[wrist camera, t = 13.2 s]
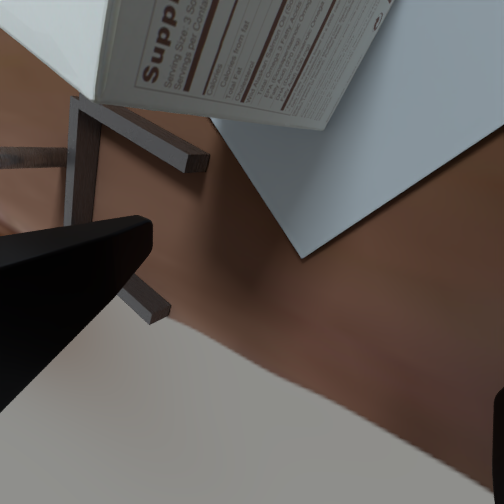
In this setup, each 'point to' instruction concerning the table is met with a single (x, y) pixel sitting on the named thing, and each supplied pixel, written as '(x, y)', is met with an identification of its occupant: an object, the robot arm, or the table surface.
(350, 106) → the mat
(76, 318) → the robot arm
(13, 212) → the table surface
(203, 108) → the supplement box
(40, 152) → the cradle
